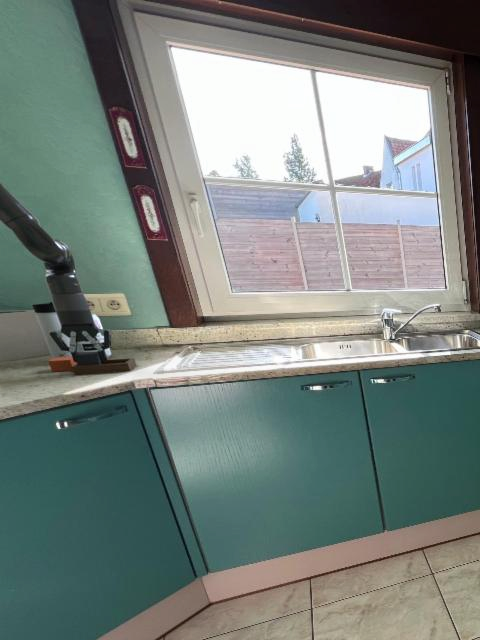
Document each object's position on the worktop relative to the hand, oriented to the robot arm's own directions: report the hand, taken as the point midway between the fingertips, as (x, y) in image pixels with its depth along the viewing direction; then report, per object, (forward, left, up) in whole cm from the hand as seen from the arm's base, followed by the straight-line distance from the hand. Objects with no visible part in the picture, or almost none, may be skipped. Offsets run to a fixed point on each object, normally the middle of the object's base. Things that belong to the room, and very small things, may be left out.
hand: (92, 362), depth 157 cm
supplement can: (-5, +26, -3) cm, 27 cm away
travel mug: (-11, +20, -3) cm, 23 cm away
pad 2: (0, 0, 0) cm, 0 cm away
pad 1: (-8, +6, -3) cm, 11 cm away
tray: (+3, 0, -3) cm, 4 cm away
